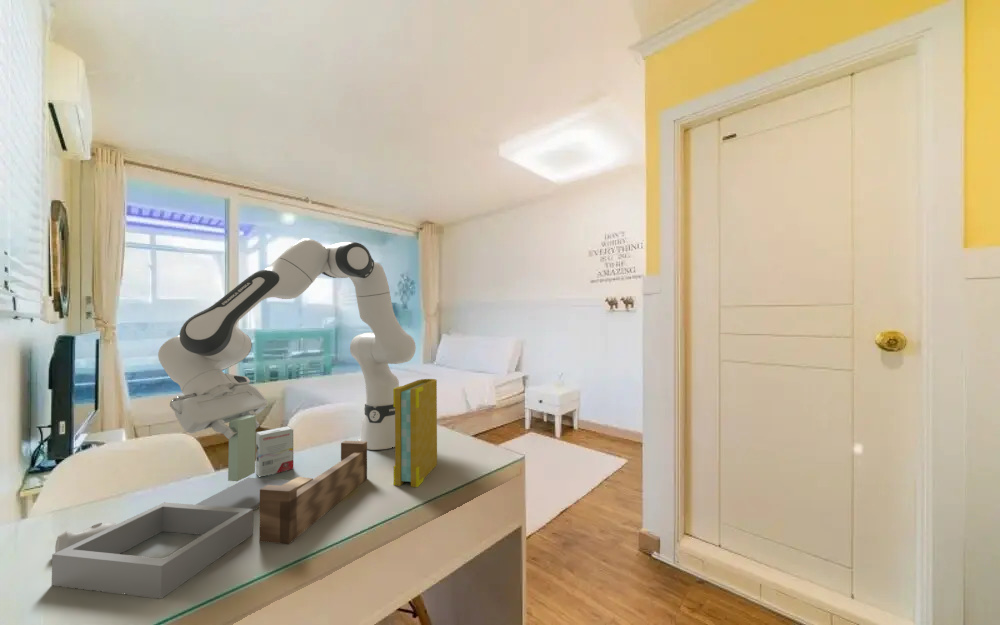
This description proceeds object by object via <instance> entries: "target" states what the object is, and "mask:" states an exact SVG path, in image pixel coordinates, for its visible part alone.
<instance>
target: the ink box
mask: <svg viewBox="0 0 1000 625" xmlns="http://www.w3.org/2000/svg"><path fill="white" fill-rule="evenodd" d="M293 469H294V428H292V427H291V426H288V425H287V426H282V427H276V428H270V429H266V430H262V431H256V442H255V473H257V474H256V475H258V476H260V477H261V476H265V475H268V476H270V475H269V474H272V475H275V474H274V473H276V474H279V473H282V472H286V470H287V471H290V470H293ZM258 476H257V477H258ZM265 477H266V476H265ZM261 478H262V477H261Z"/></svg>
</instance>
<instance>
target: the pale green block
mask: <svg viewBox="0 0 1000 625" xmlns="http://www.w3.org/2000/svg"><path fill="white" fill-rule="evenodd" d="M256 420H257V415H256V416H252V415H247V416H243V417H240V418H236V419H233V420H230V421H229V422H228V427H230V428H232V427H234V428H235V430H237V434H236V435H235V437H232V438H229V439H228V465H227V468H228V471H227V473H228V474H227V476H228V477H227V481H229V482H240V481H242V480H244V479H246V477H247V478H248V477H250V476H251V475H253V474H255V473H256V432H257V431H256V430H257V429H256Z"/></svg>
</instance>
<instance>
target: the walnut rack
mask: <svg viewBox="0 0 1000 625" xmlns="http://www.w3.org/2000/svg"><path fill="white" fill-rule="evenodd" d="M366 480H368V449H367V442H366V441H357V440H344V441H342V442H340V461H339V462H338V463H336V464H335V465H332V466H331V467H330V468H329V469H327V470H326V471H324V472H323V473H321V474H319V475H317V476H316V477H315V478H313V480H312V481H310V482H309V483H307V484H306V485H304V486H302V487H301V488H299V489H298V490H297V487H295V486H279V485H267V486H265V487H263V488H261V489H260V512H259V532H258V533H259V536H258V540H259V543H260V542H261V543H273V544H282V545H290V544H292V542H294V541H295V540H296V539H297V538H298V537H300V536H301V535H302V534H303V533H304V532H306V531H307V530H308V529H309V528H310V527H312V526H313V525H314V524H315V523H316V522H317V521H318V520H320V519H321V518H322V517H323V516H324V515H326V514H327V513H328V512H330V510H331V509H333V508H334V507H335V506H336V505H338V504H339V503H340V502H341V501H342V500H344V499H345V498H346V497H347V496H348V495H349V494H351V493H352V492H353V491H354V490H356V488H358V487H359V486H360V485H361V484H362V483H364V482H365V481H366Z"/></svg>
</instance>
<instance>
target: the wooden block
mask: <svg viewBox="0 0 1000 625" xmlns="http://www.w3.org/2000/svg"><path fill="white" fill-rule="evenodd" d="M313 479H314V478H312V477H305V476H297V477H295V478H292V479H290V480H291V481H289V482H287V483H285V484H283V485H281V486H295V487H297V490H298V489H299V488H301V487H302V486H304V485H306V484H307V483H309V482H310V481H312V480H313ZM258 512H259V513H260V504H259V507H258Z"/></svg>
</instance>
